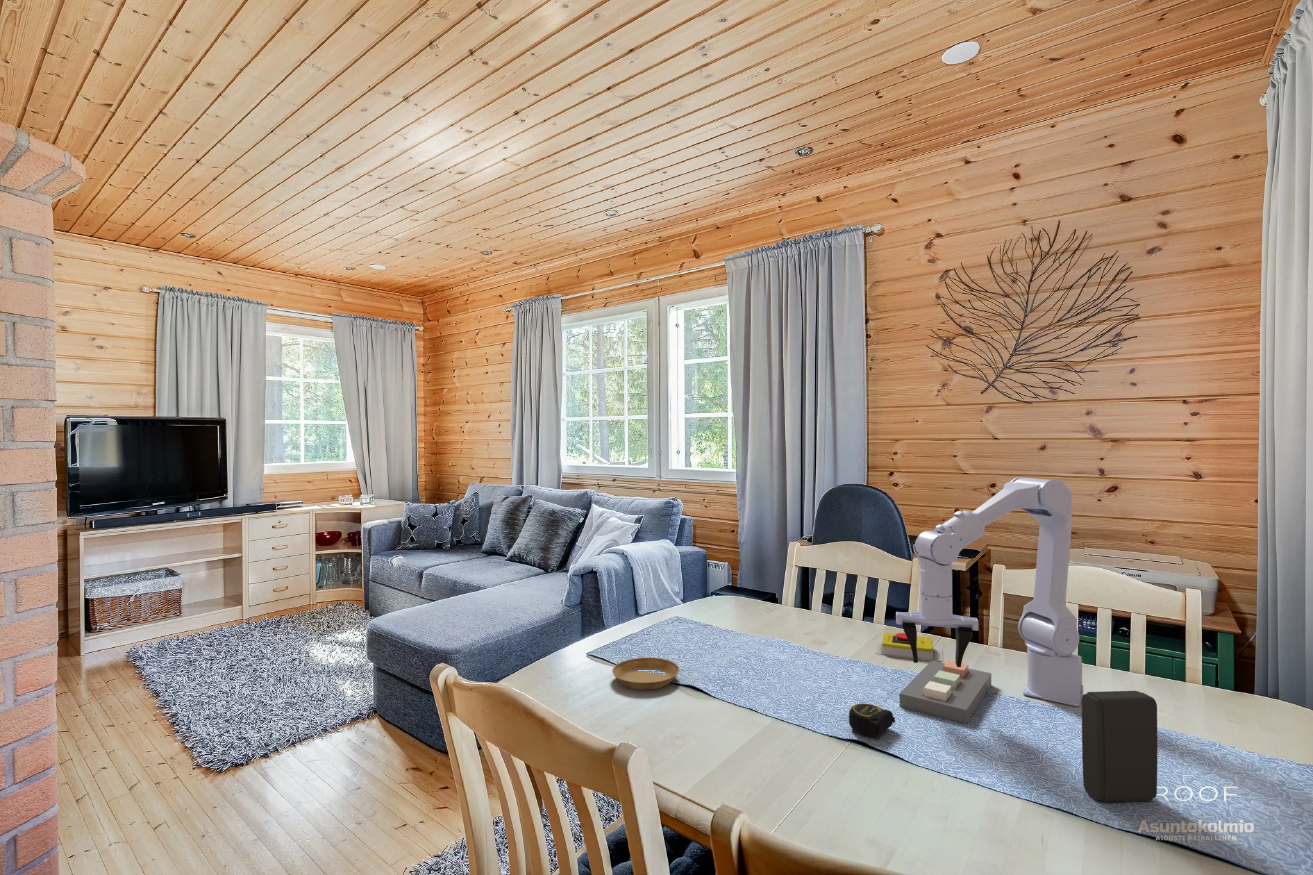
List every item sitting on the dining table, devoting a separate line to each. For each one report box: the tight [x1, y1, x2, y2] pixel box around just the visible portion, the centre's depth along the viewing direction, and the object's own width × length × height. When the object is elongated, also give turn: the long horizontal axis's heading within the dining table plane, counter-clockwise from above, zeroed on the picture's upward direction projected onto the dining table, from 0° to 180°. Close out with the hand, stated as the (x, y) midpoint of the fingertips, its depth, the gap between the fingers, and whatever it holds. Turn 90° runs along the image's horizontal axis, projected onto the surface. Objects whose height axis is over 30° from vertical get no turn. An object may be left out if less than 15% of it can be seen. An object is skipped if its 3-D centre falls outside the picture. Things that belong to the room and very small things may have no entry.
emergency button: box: [875, 632, 944, 663], centre depth 152 cm, size 9×4×15 cm
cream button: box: [924, 681, 951, 701], centre depth 121 cm, size 4×4×2 cm
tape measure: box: [848, 703, 896, 738], centre depth 112 cm, size 7×7×4 cm
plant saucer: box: [611, 657, 680, 691], centre depth 136 cm, size 15×15×3 cm
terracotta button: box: [943, 660, 969, 678], centre depth 132 cm, size 4×4×2 cm
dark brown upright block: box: [1081, 690, 1158, 803], centre depth 91 cm, size 9×4×15 cm, turn 92°
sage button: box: [934, 670, 960, 689], centre depth 126 cm, size 4×4×2 cm
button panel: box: [898, 661, 992, 724], centre depth 126 cm, size 12×22×2 cm, turn 141°
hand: (936, 663), depth 121 cm, fingers open, 7 cm apart
